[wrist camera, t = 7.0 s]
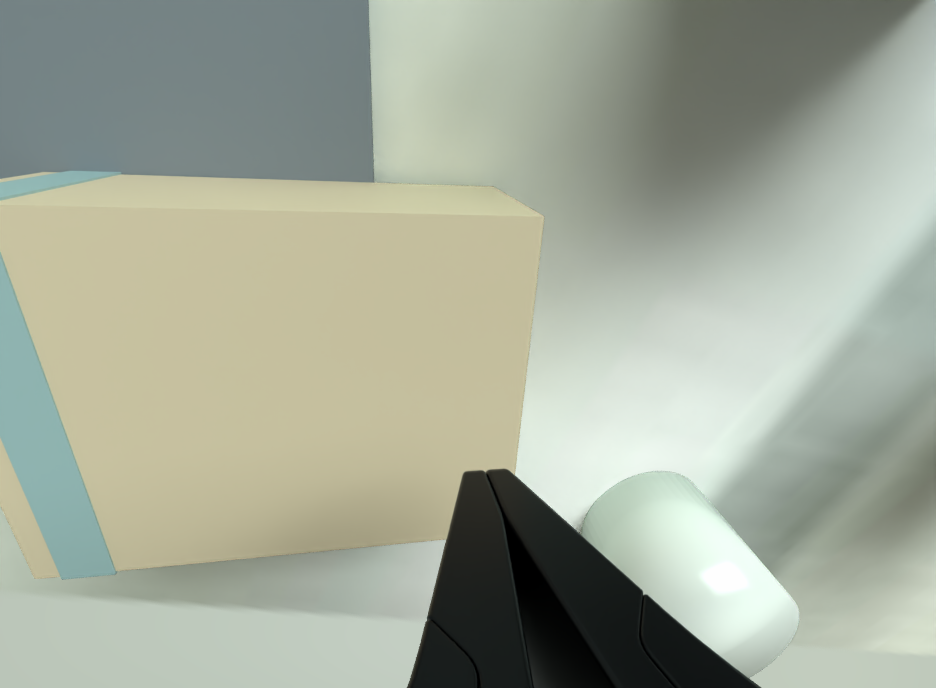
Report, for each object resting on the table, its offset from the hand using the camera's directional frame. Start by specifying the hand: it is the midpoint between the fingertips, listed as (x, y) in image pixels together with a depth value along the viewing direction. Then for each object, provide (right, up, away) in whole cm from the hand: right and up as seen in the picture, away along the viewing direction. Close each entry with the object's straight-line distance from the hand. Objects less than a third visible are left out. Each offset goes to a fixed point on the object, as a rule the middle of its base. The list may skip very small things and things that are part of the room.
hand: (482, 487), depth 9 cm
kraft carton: (+1, +2, +5) cm, 6 cm away
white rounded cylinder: (+8, -6, +14) cm, 17 cm away
